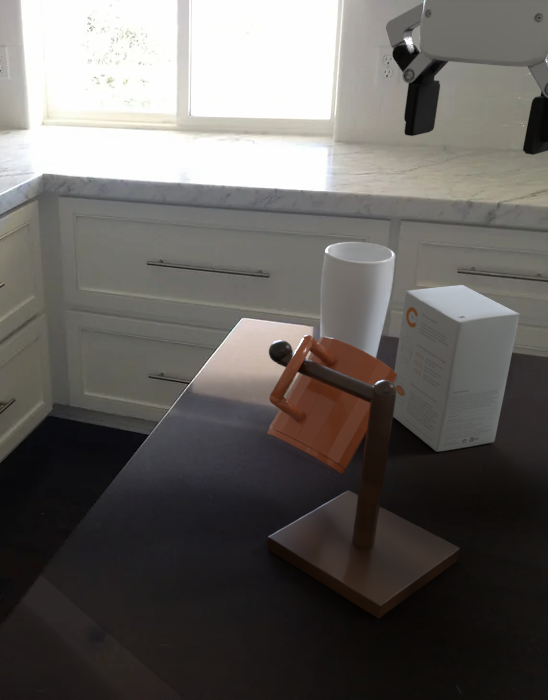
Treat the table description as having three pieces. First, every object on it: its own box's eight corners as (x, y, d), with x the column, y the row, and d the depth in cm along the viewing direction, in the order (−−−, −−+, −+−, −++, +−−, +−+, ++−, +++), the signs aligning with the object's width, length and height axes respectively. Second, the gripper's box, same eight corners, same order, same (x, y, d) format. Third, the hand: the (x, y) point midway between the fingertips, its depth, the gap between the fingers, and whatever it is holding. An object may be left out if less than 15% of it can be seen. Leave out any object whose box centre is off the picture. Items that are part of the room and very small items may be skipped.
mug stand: (298, 476, 76) (313, 320, 70) (458, 560, 65) (493, 384, 59) (218, 519, 70) (227, 353, 64) (378, 619, 60) (407, 432, 53)
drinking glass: (310, 399, 89) (324, 260, 83) (310, 371, 95) (323, 239, 89) (379, 405, 87) (399, 264, 81) (375, 376, 93) (393, 243, 87)
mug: (289, 450, 74) (340, 359, 75) (355, 484, 69) (409, 386, 70) (224, 406, 67) (281, 305, 67) (293, 440, 62) (354, 331, 62)
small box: (495, 443, 80) (522, 313, 75) (435, 453, 79) (458, 321, 73) (441, 404, 87) (463, 282, 82) (385, 412, 86) (403, 289, 81)
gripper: (679, -117, 55) (615, 152, 62) (433, -101, 68) (404, 122, 75) (627, -121, 51) (566, 168, 58) (376, -103, 64) (350, 133, 71)
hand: (475, 142), depth 67 cm, fingers open, 9 cm apart
